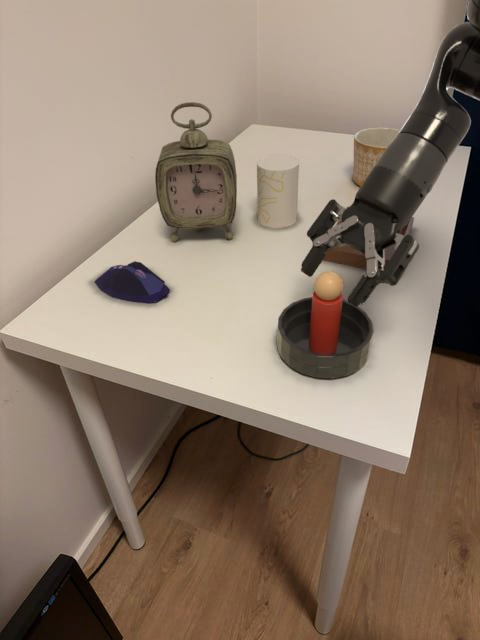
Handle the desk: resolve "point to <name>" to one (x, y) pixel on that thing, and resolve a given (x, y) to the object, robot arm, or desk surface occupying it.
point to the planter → (370, 150)
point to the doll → (326, 313)
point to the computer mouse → (132, 283)
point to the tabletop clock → (196, 180)
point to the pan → (349, 347)
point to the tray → (358, 259)
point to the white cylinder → (277, 190)
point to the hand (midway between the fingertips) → (327, 288)
